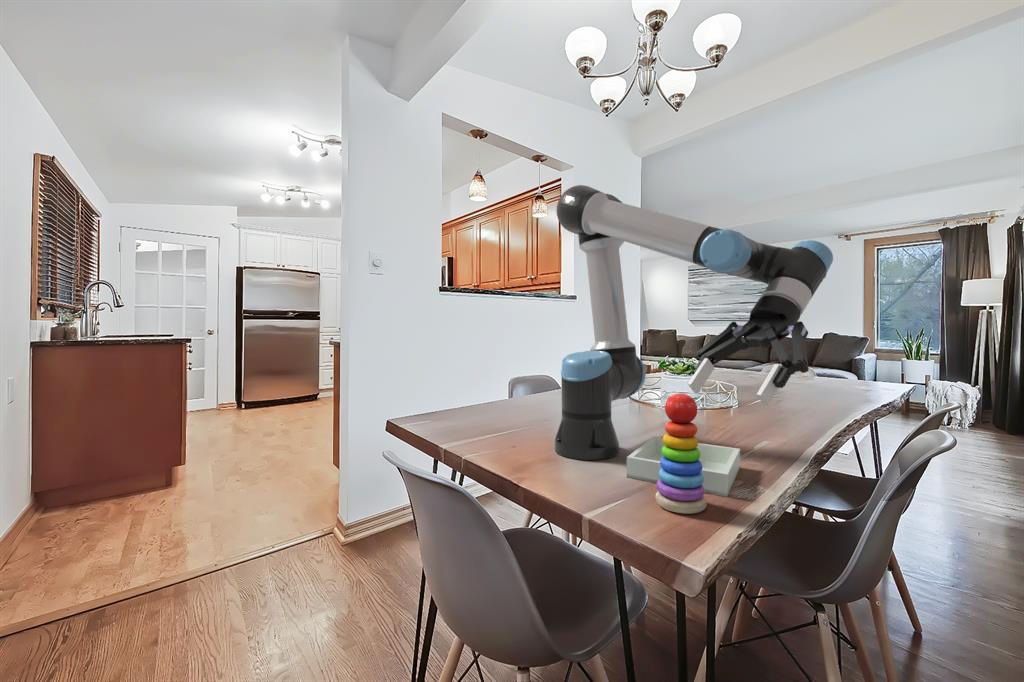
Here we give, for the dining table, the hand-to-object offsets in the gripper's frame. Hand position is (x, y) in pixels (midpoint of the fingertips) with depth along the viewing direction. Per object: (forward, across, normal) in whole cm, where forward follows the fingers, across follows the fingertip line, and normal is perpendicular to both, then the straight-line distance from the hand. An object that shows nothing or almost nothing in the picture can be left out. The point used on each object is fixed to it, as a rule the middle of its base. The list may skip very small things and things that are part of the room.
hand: (724, 394), depth 75 cm
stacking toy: (+20, +1, -6) cm, 21 cm away
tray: (+10, +12, -15) cm, 22 cm away
